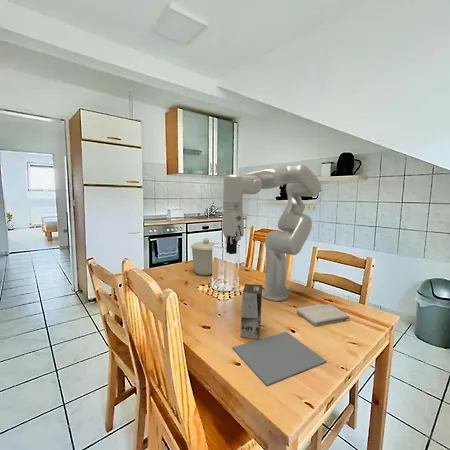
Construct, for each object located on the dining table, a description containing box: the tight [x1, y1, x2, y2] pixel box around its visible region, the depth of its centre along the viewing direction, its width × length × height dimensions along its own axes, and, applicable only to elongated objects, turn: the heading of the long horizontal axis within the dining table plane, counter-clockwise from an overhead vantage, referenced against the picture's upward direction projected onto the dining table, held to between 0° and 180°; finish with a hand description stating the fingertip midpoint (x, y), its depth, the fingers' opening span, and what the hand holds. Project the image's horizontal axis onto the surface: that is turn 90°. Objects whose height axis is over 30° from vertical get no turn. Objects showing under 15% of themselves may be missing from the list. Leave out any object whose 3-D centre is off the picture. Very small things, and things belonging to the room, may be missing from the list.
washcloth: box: [295, 303, 350, 327], centre depth 106 cm, size 12×18×3 cm, turn 111°
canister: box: [190, 238, 218, 276], centre depth 157 cm, size 18×18×21 cm
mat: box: [232, 331, 327, 387], centre depth 80 cm, size 22×18×1 cm
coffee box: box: [240, 283, 263, 340], centre depth 92 cm, size 9×6×16 cm
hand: (231, 252), depth 104 cm, fingers closed
